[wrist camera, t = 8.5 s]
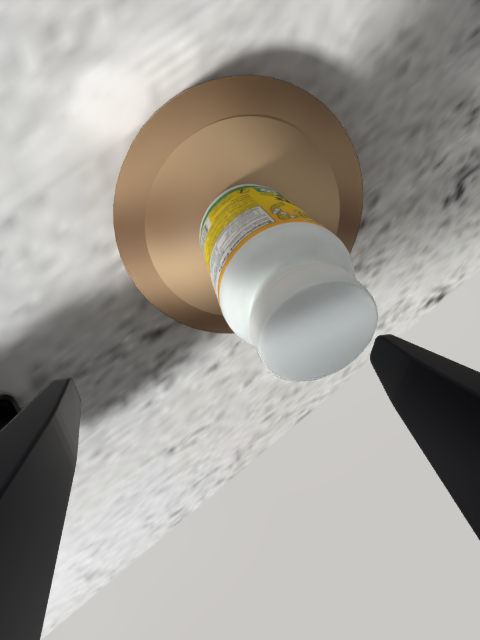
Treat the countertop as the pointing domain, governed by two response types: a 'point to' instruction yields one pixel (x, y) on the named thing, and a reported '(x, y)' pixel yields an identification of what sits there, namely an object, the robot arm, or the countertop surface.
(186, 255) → the plate
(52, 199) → the countertop surface
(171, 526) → the countertop surface
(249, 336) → the supplement bottle
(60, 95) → the countertop surface
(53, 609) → the countertop surface
